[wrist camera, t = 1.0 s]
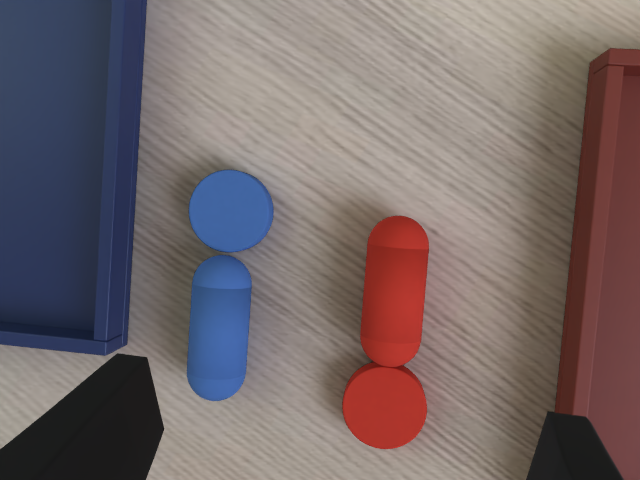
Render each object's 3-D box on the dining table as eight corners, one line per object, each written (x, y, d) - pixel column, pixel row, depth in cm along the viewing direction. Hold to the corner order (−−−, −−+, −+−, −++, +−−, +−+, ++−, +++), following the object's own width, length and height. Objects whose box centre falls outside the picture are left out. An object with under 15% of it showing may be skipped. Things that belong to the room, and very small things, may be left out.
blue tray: (127, 344, 25) (106, 356, 23) (-104, 320, 26) (-144, 329, 24) (150, -54, 24) (129, -78, 22) (-91, -61, 26) (-131, -84, 24)
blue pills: (198, 168, 25) (178, 164, 22) (276, 174, 24) (264, 169, 22) (185, 386, 25) (164, 404, 23) (261, 394, 25) (247, 413, 22)
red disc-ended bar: (421, 444, 24) (425, 469, 22) (341, 434, 24) (336, 459, 22) (441, 218, 24) (447, 219, 21) (358, 212, 24) (355, 212, 21)
